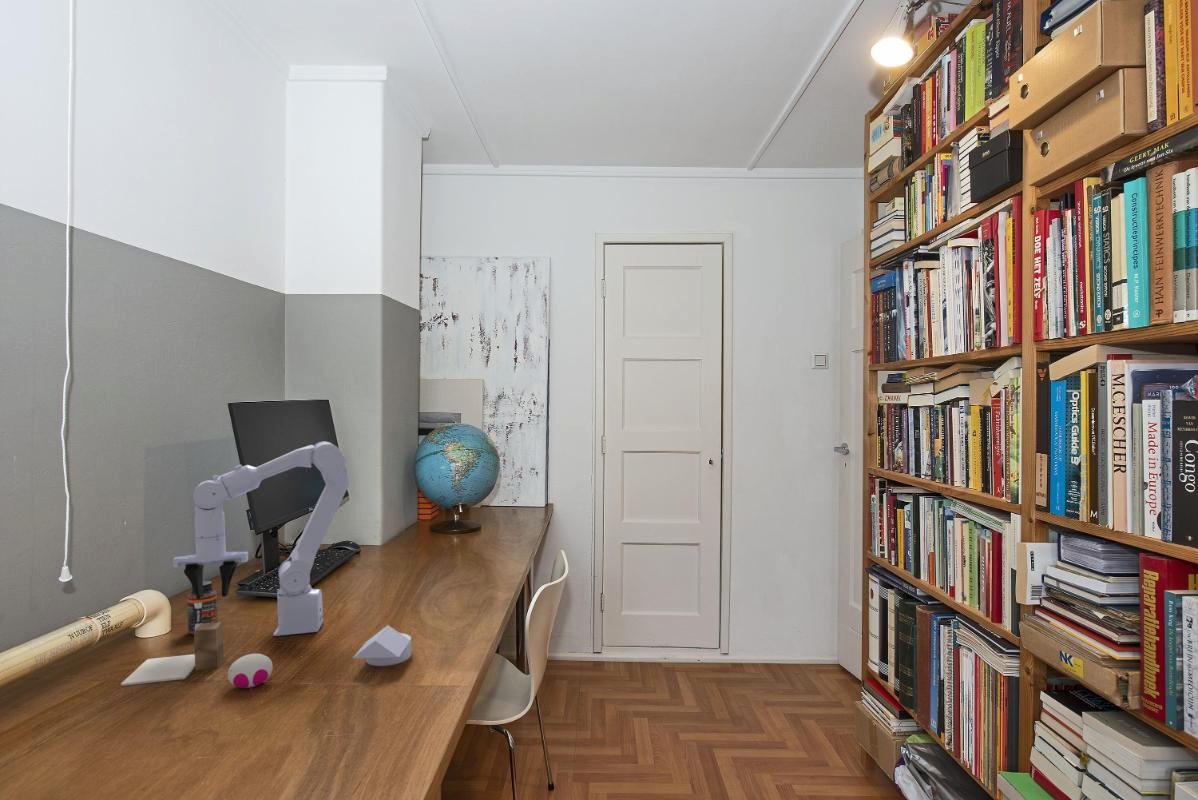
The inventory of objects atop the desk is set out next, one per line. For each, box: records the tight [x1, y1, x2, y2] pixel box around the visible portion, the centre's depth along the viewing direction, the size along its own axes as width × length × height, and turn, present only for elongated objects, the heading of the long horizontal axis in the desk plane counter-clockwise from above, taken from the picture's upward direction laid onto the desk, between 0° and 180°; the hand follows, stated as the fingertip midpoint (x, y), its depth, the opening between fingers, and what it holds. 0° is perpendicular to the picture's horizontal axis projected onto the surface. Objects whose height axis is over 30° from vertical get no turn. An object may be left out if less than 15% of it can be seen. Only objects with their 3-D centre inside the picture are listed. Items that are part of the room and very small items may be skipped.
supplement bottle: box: [187, 580, 219, 636], centre depth 157 cm, size 6×6×11 cm
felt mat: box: [120, 653, 195, 687], centre depth 135 cm, size 11×12×1 cm
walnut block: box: [193, 621, 224, 671], centre depth 137 cm, size 4×4×8 cm
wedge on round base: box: [352, 624, 412, 667], centre depth 137 cm, size 9×7×13 cm
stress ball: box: [227, 653, 274, 692], centre depth 127 cm, size 8×8×7 cm
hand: (212, 596), depth 149 cm, fingers open, 4 cm apart
